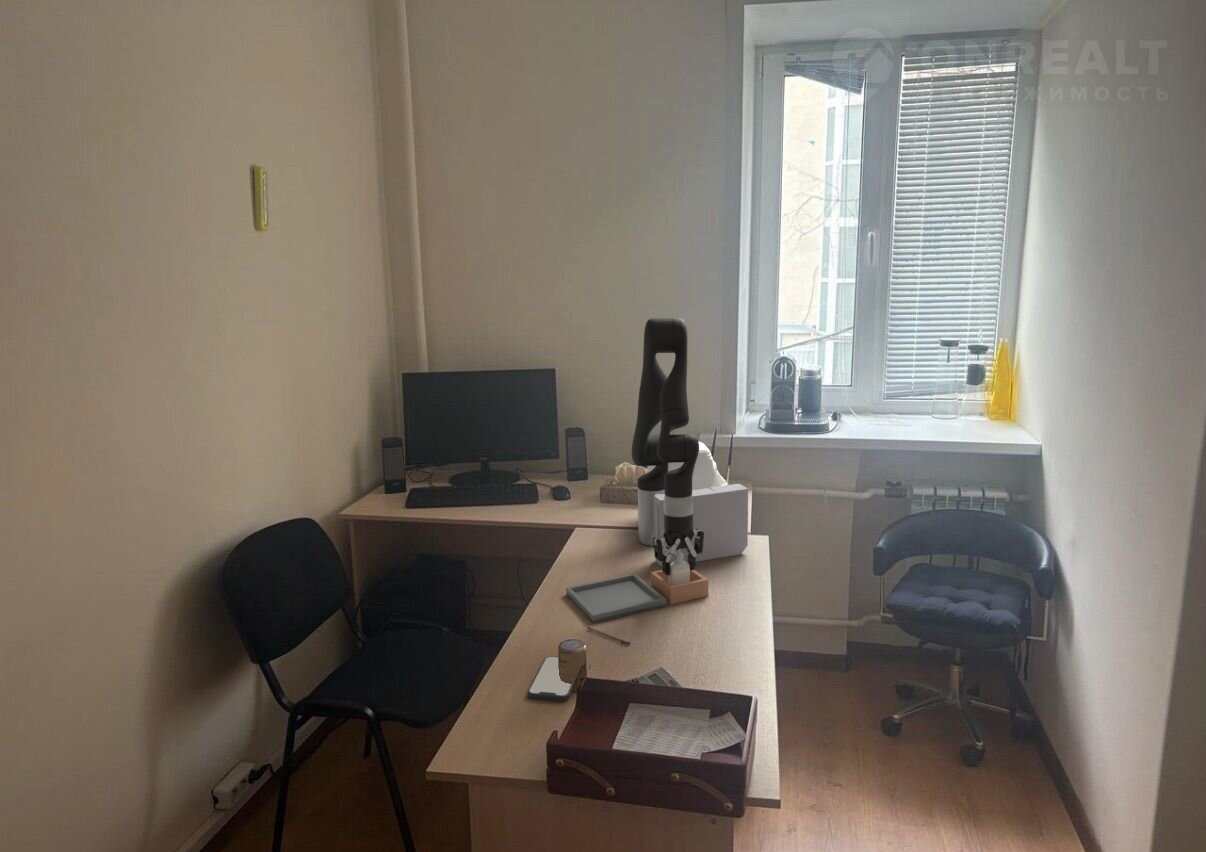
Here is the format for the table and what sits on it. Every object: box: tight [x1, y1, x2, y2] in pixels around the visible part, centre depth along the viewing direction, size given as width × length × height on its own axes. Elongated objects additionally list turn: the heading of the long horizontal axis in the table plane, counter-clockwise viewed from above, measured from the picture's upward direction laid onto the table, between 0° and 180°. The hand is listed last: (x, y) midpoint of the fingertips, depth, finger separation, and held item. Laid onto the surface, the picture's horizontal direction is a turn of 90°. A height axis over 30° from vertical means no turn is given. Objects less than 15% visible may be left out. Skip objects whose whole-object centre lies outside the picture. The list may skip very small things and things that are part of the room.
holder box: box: [650, 569, 709, 605], centre depth 207 cm, size 11×11×4 cm
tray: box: [565, 573, 667, 624], centre depth 204 cm, size 18×20×2 cm
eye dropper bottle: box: [668, 549, 690, 586], centre depth 206 cm, size 4×6×12 cm
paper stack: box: [646, 440, 729, 490], centre depth 257 cm, size 21×27×26 cm
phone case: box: [527, 655, 574, 703], centre depth 167 cm, size 9×2×16 cm
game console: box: [654, 483, 749, 568], centre depth 228 cm, size 6×27×20 cm, turn 108°
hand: (679, 571), depth 206 cm, fingers open, 6 cm apart
